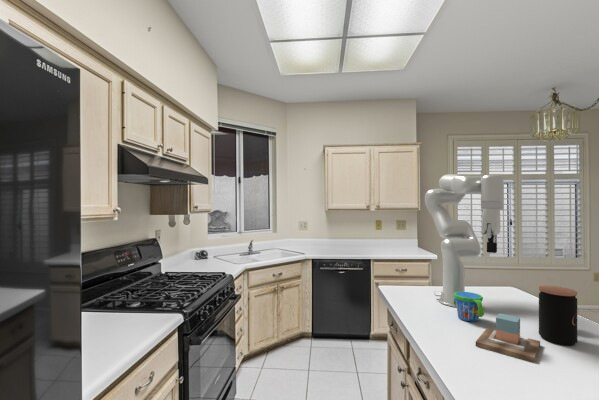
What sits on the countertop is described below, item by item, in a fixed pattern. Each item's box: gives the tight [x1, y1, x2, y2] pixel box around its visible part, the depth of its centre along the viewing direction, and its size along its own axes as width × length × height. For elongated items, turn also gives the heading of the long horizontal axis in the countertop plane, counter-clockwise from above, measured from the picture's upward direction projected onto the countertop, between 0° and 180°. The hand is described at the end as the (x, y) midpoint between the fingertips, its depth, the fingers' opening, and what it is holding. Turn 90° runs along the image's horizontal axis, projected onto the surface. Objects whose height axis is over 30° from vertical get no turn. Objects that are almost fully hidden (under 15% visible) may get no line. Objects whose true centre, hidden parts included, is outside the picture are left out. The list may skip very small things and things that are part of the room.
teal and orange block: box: [495, 313, 521, 345], centre depth 107 cm, size 6×6×8 cm
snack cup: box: [454, 291, 485, 322], centre depth 131 cm, size 16×10×10 cm
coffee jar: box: [538, 285, 578, 347], centre depth 112 cm, size 11×11×18 cm
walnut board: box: [475, 327, 541, 363], centre depth 106 cm, size 16×16×2 cm
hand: (491, 252), depth 124 cm, fingers closed
